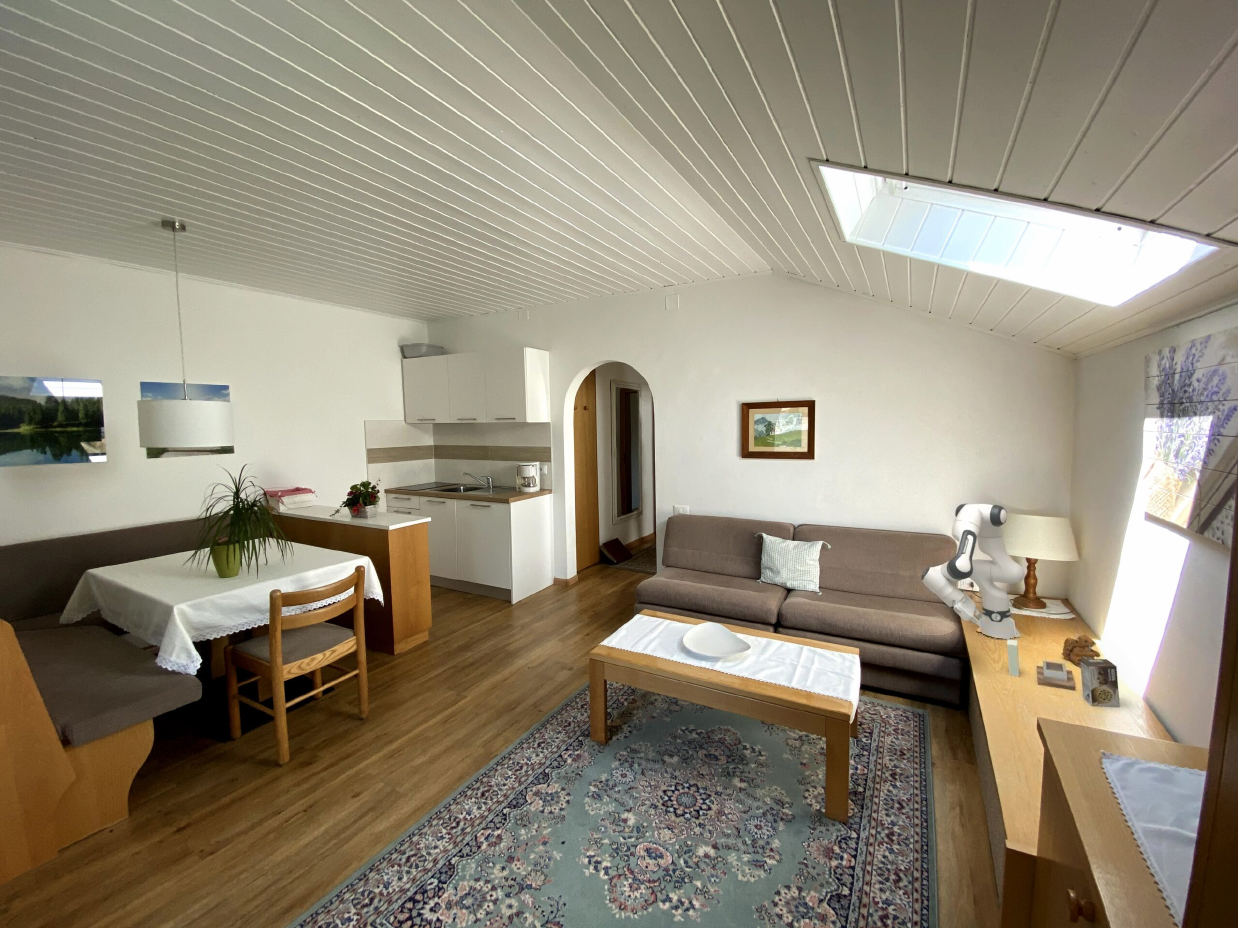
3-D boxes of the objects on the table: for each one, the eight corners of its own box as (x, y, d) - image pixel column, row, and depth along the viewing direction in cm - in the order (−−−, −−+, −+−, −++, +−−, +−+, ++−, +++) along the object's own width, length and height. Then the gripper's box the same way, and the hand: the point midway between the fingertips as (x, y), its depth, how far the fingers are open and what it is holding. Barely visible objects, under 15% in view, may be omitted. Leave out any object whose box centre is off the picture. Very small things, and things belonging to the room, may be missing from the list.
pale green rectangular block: (1009, 669, 235) (1007, 639, 234) (1019, 670, 233) (1017, 640, 232) (1009, 675, 230) (1007, 644, 230) (1019, 676, 228) (1017, 645, 228)
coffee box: (1109, 698, 205) (1107, 658, 204) (1120, 707, 199) (1117, 665, 198) (1081, 697, 208) (1079, 658, 207) (1091, 706, 201) (1089, 665, 201)
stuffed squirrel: (1089, 671, 227) (1087, 641, 226) (1054, 658, 240) (1052, 630, 240) (1105, 666, 229) (1103, 637, 229) (1070, 654, 243) (1068, 626, 242)
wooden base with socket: (1036, 668, 233) (1035, 656, 233) (1072, 673, 226) (1071, 661, 225) (1037, 684, 220) (1037, 671, 220) (1075, 690, 213) (1074, 677, 213)
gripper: (957, 600, 233) (985, 624, 228) (961, 587, 249) (987, 609, 244) (946, 608, 236) (973, 633, 231) (950, 595, 252) (976, 617, 247)
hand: (981, 621), depth 237 cm, fingers open, 8 cm apart
